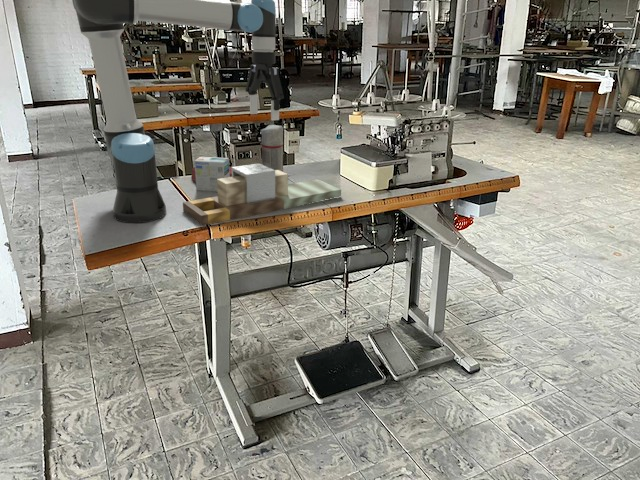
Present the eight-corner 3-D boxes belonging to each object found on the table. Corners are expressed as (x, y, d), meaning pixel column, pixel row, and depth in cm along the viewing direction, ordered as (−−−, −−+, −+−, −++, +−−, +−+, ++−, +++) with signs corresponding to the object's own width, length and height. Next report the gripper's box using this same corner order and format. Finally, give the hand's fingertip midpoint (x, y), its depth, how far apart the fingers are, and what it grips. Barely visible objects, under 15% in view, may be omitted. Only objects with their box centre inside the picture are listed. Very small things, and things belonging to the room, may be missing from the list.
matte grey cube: (247, 204, 160) (246, 174, 156) (232, 195, 167) (231, 167, 164) (275, 199, 165) (275, 170, 162) (259, 191, 173) (259, 163, 169)
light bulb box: (230, 186, 186) (229, 157, 182) (225, 192, 180) (224, 162, 176) (201, 185, 187) (199, 155, 183) (195, 190, 181) (193, 160, 177)
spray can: (282, 181, 194) (283, 128, 186) (260, 181, 194) (260, 127, 187) (284, 175, 202) (284, 123, 194) (263, 174, 202) (262, 123, 194)
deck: (201, 225, 151) (201, 215, 150) (183, 211, 161) (182, 202, 160) (340, 197, 179) (341, 189, 178) (317, 187, 189) (317, 179, 188)
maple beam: (226, 206, 158) (225, 183, 155) (218, 200, 163) (217, 178, 160) (287, 194, 170) (288, 174, 167) (278, 190, 175) (278, 169, 172)
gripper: (295, 53, 162) (294, 121, 171) (253, 48, 180) (254, 110, 189) (275, 53, 158) (274, 123, 166) (234, 48, 176) (236, 112, 184)
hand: (264, 117), depth 178 cm, fingers open, 13 cm apart
